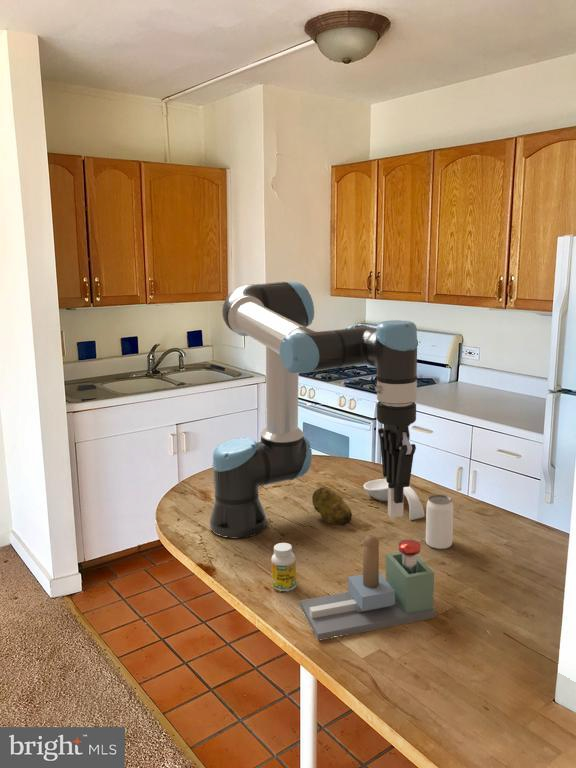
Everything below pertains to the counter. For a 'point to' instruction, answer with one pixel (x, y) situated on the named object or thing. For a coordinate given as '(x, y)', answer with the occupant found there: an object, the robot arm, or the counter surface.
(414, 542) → the button
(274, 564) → the supplement bottle
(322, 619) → the track
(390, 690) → the counter surface
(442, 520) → the can
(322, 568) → the counter surface
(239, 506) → the robot arm
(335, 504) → the potato
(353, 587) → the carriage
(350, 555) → the counter surface
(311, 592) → the counter surface
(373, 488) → the spoon rest
